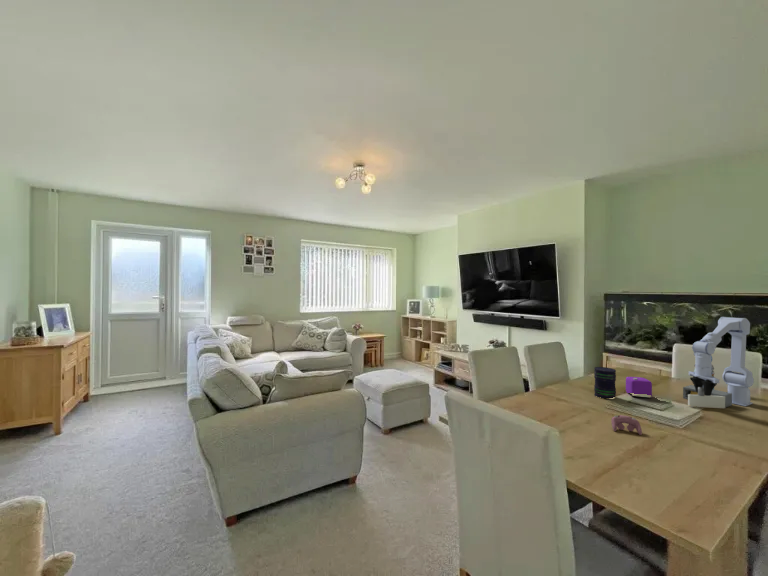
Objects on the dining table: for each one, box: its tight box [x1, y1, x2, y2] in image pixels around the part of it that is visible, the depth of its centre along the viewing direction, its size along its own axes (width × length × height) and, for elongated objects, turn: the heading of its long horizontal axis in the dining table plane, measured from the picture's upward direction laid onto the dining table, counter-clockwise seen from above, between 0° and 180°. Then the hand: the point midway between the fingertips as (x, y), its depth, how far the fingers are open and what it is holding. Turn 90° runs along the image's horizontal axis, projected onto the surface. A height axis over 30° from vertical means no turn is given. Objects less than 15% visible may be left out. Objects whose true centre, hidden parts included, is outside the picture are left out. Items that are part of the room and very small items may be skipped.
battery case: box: [682, 384, 733, 408], centre depth 171 cm, size 9×16×6 cm, turn 26°
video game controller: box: [610, 414, 643, 436], centre depth 135 cm, size 10×5×7 cm, turn 65°
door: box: [687, 387, 726, 409], centre depth 162 cm, size 2×16×10 cm, turn 80°
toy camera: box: [625, 376, 653, 396], centre depth 181 cm, size 11×14×10 cm
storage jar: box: [593, 366, 617, 399], centre depth 178 cm, size 10×10×15 cm
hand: (703, 394), depth 161 cm, fingers open, 4 cm apart
